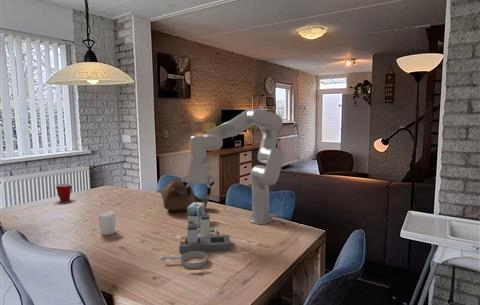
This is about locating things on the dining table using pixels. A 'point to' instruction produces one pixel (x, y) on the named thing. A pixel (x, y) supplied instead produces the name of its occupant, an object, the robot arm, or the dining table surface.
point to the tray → (210, 230)
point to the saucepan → (189, 255)
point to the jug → (179, 196)
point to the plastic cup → (64, 191)
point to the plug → (205, 225)
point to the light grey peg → (192, 234)
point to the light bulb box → (195, 212)
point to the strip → (206, 244)
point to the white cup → (107, 223)
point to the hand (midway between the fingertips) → (198, 194)
